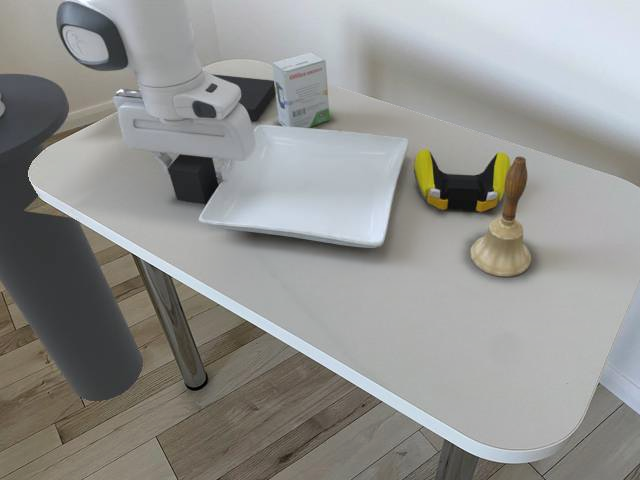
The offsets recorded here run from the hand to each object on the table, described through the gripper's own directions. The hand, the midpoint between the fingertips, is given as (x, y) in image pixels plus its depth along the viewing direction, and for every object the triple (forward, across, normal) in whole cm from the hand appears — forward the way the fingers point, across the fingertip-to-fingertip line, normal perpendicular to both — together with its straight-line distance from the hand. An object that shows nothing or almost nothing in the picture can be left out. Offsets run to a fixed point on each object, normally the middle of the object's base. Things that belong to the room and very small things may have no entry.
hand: (198, 175), depth 86 cm
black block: (+4, -1, 0) cm, 4 cm away
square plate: (+4, +17, +4) cm, 18 cm away
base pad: (+3, -8, +29) cm, 30 cm away
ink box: (+4, +9, +25) cm, 27 cm away
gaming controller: (+5, +40, +9) cm, 41 cm away
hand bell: (+5, +47, -4) cm, 47 cm away
